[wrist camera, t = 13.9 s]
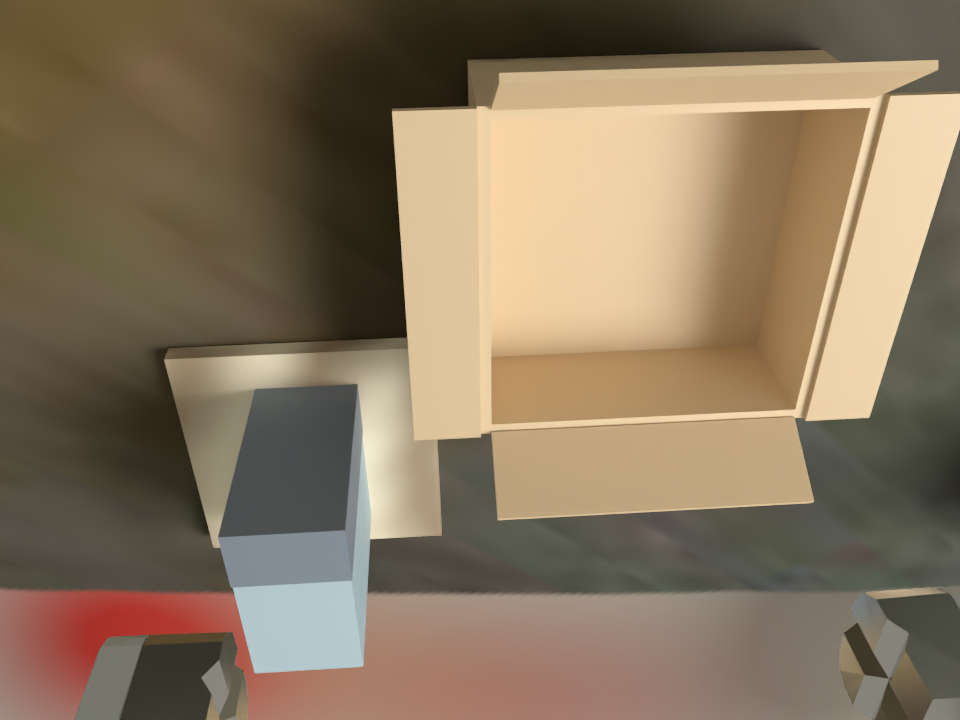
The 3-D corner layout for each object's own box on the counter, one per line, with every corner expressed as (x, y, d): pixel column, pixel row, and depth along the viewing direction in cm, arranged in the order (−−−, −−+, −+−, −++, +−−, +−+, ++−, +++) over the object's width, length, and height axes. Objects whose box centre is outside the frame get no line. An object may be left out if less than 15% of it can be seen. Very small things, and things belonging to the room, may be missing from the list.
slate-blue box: (357, 384, 43) (345, 530, 35) (372, 513, 48) (364, 668, 40) (255, 389, 43) (217, 537, 35) (280, 518, 48) (253, 675, 40)
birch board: (432, 336, 43) (432, 347, 42) (441, 522, 50) (441, 535, 50) (168, 348, 42) (163, 359, 42) (216, 534, 50) (213, 547, 49)
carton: (905, -6, 35) (1047, 58, 27) (808, 376, 46) (890, 501, 38) (391, 7, 34) (385, 77, 26) (416, 395, 45) (417, 527, 37)
